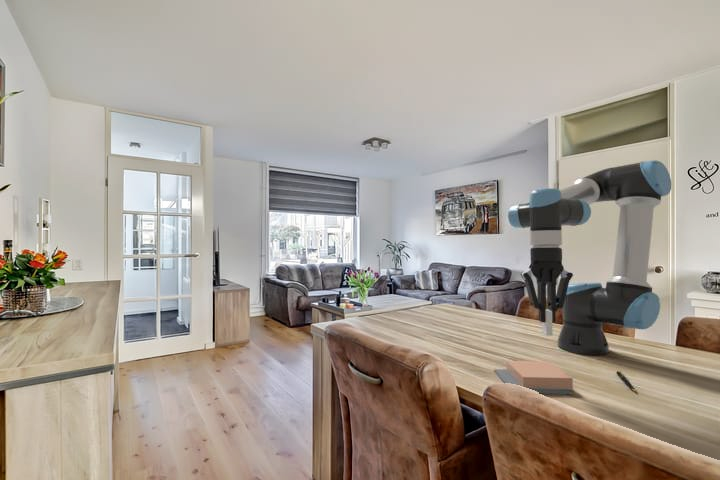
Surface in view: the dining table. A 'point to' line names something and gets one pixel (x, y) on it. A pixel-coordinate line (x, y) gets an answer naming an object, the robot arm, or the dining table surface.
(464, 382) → the dining table surface
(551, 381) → the glazed tile
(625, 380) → the fountain pen
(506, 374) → the mat
